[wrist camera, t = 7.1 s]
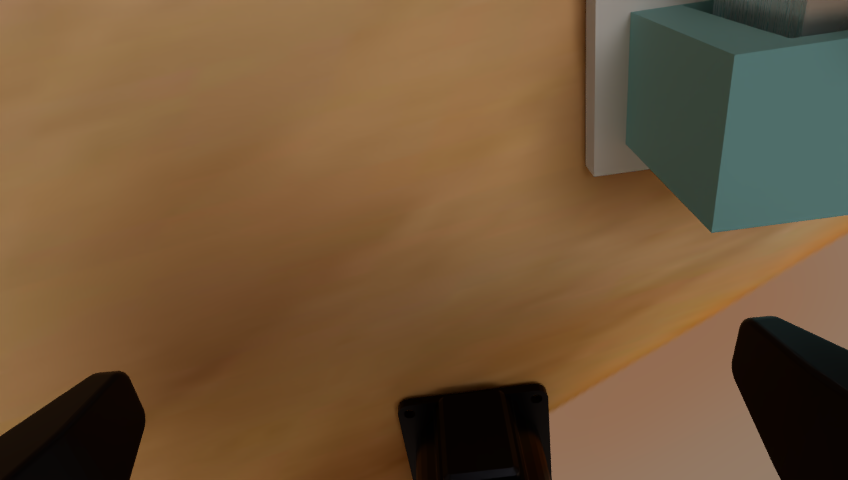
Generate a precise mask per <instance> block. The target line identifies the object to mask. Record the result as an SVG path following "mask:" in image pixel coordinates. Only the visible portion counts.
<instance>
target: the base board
mask: <svg viewBox="0 0 848 480" xmlns="http://www.w3.org/2000/svg"><path fill="white" fill-rule="evenodd" d="M701 1H707V0H586V166H587V168H588V169H589V171H590V172H591V173H592V175H593V176H594V177H596V176H604V175H611V174H618V173H625V172H633V171H640V170H647V169H649V168H648V167H647V166H646V165H645V164H644V163H643V162H642V160H641V159H640V158H639V157H638V156H637V155H636V154H635V153H634V152H633V151H632V150H631V149H630V148H629V147H628V146H627V145H626V120H627V94H628V69H629V43H630V18H631V12H635V11H641V10H648V9H655V8H661V7H668V6H674V5H681V4H688V3H694V2H701Z"/></svg>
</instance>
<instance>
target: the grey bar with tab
mask: <svg viewBox="0 0 848 480" xmlns="http://www.w3.org/2000/svg"><path fill="white" fill-rule="evenodd" d="M712 15H716V16H719V17H722V18H725V19H728V20H732V21H735V22H738V23H741V24H745V25H748V26H751V27H754V28H758V29H761V30H764V31H767V32H771V33H774V34H777V35H780V36H784V37H787V38H797V37H804V36H811V35H817V34H824V33H831V32H838V31H844V30H848V0H714V2H713V12H712Z"/></svg>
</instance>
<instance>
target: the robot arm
mask: <svg viewBox="0 0 848 480" xmlns="http://www.w3.org/2000/svg"><path fill="white" fill-rule="evenodd" d="M732 372H733V376H734V379H735V382H736V384H737V386H738V388H739V390H740V392H741V395H742V397H743V399H744V401H745V404H746V406H747V408H748V410H749V412H750V415H751V417H752V419H753V421H754V423H755V425H756V428H757V430H758V432H759V434H760V437H761V439H762V441H763V443H764V445H765V448H766V450H767V452H768V454H769V456H770V459H771V460H772V463H773V465H774V467H775V469H776V471H777V473H778V475H779V477H780V479H781V480H848V350H847V349H845V348H842V347H840V346H838V345H836V344H834V343H832V342H830V341H827V340H825V339H823V338H821V337H819V336H817V335H815V334H812V333H810V332H808V331H806V330H804V329H802V328H800V327H797V326H795V325H793V324H791V323H789V322H787V321H784V320H783V319H780V318H778V317H774V316H765V317H753V318H747V319H745V320H744V321H743V322H742V323H741V325H740V328H739V333H738V337H737V342H736V346H735V351H734V355H733V359H732ZM533 395H538V396H533ZM407 410H413V411H407ZM398 417H399V421H400V425H401V430H402V434H403V438H404V443H405V447H406V451H407V456H408V460H409V464H410V469H411V473H412V477H413V480H552V478H551V454H550V432H549V408H548V396H547V392H546V389H545V387H544V386H543V385H540V384H528V385H520V386H511V387H503V388H495V389H486V390H478V391H470V392H461V393H453V394H445V395H436V396H428V397H420V398H411V399H406V400H403V401H402V402H400V404H399V406H398ZM144 427H145V412H144V409H143V407H142V404H141V402H140V400H139V398H138V396H137V393H136V391H135V389H134V387H133V385H132V382H131V380H130V378H129V376H128V375H127V374H126V373H124V372H121V371H112V372H100V373H95V374H93V375H91V376H89V377H88V378H86V379H85V380H83V381H82V382H80V383H79V384H77V385H76V386H74V387H73V388H71V389H70V390H68V391H67V392H65V393H64V394H62V395H61V396H59V397H58V398H56V399H55V400H53V401H52V402H50V403H49V404H47V405H46V406H45V407H43V408H42V409H40V410H39V411H37V412H36V413H34V414H33V415H31V416H30V417H28V418H27V419H25V420H24V421H22V422H21V423H19V424H18V425H16V426H15V427H13V428H12V429H10V430H9V431H7V432H6V433H4V434H3V435H1V436H0V480H130V476H131V473H132V469H133V466H134V462H135V459H136V455H137V452H138V449H139V445H140V442H141V438H142V435H143V431H144Z"/></svg>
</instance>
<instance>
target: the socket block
mask: <svg viewBox="0 0 848 480" xmlns="http://www.w3.org/2000/svg"><path fill="white" fill-rule="evenodd" d="M713 2H714V0H707V1H701V2H694V3H688V4H681V5H674V6H668V7H661V8H655V9H648V10H641V11H635V12H631V18H630V43H629V69H628V94H627V120H626V145H627V146H628V147H629V148H630V149H631V150H632V151H633V152H634V153H635V154H636V155H637V156H638V157H639V158H640V159H641V160H642V162H643V163H644V164H645V165H646V166H647V167H648V168H649V169H650V170H651V171H652V172H653V173H654V174H655V175H656V176H657V177H658V178H659V179H660V180H661V181H662V182H663V183H664V184H665V185H666V186H667V187H668V188H669V189H670V190H671V191H672V192H673V193H674V195H675V196H676V197H677V198H678V199H679V200H680V201H681V202H682V203H683V204H684V205H685V206H686V207H687V208H688V209H689V210H690V211H691V212H692V213H693V214H694V215H695V216H696V217H697V218H698V219H699V220H700V221H701V222H702V223H703V224H704V225H705V227H706V228H707V229H708V230H709V231H710V232H711V233H714V232H722V231H729V230H737V229H744V228H752V227H760V226H767V225H775V224H782V223H790V222H798V221H805V220H813V219H820V218H828V217H836V216H843V215H848V30H844V31H838V32H831V33H824V34H817V35H811V36H804V37H797V38H787V37H784V36H780V35H777V34H774V33H771V32H767V31H764V30H761V29H758V28H754V27H751V26H748V25H745V24H741V23H738V22H735V21H732V20H728V19H725V18H722V17H719V16H716V15H712V12H713Z"/></svg>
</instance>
